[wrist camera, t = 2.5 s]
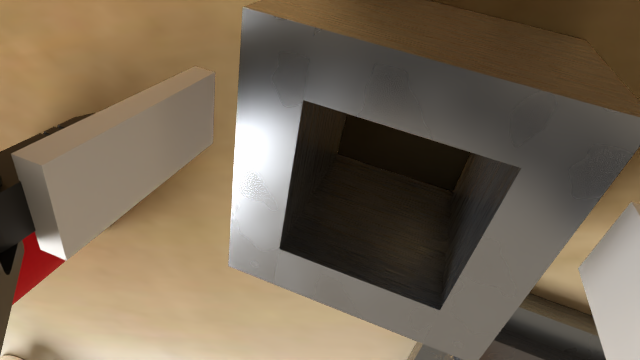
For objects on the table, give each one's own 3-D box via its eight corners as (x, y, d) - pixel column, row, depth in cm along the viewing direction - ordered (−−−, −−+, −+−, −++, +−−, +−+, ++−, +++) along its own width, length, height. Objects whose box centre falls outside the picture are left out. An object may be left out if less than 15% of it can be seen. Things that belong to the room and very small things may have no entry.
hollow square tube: (329, -25, 13) (242, 6, 8) (586, 39, 12) (657, 122, 7) (296, 172, 18) (228, 266, 13) (476, 235, 16) (475, 364, 12)
